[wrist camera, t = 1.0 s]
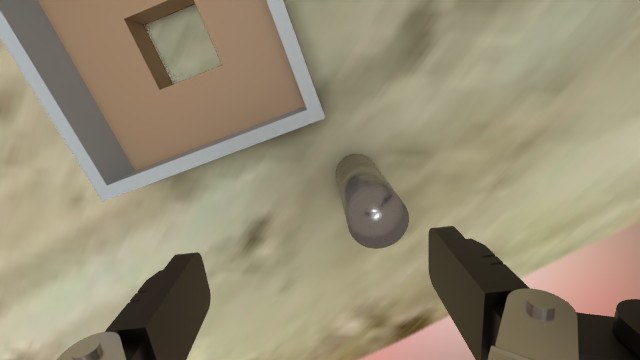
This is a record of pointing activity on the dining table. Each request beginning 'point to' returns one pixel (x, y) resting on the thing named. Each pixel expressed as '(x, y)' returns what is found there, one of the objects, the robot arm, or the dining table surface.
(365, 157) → the peg
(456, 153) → the dining table surface
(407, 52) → the dining table surface
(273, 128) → the bore box
